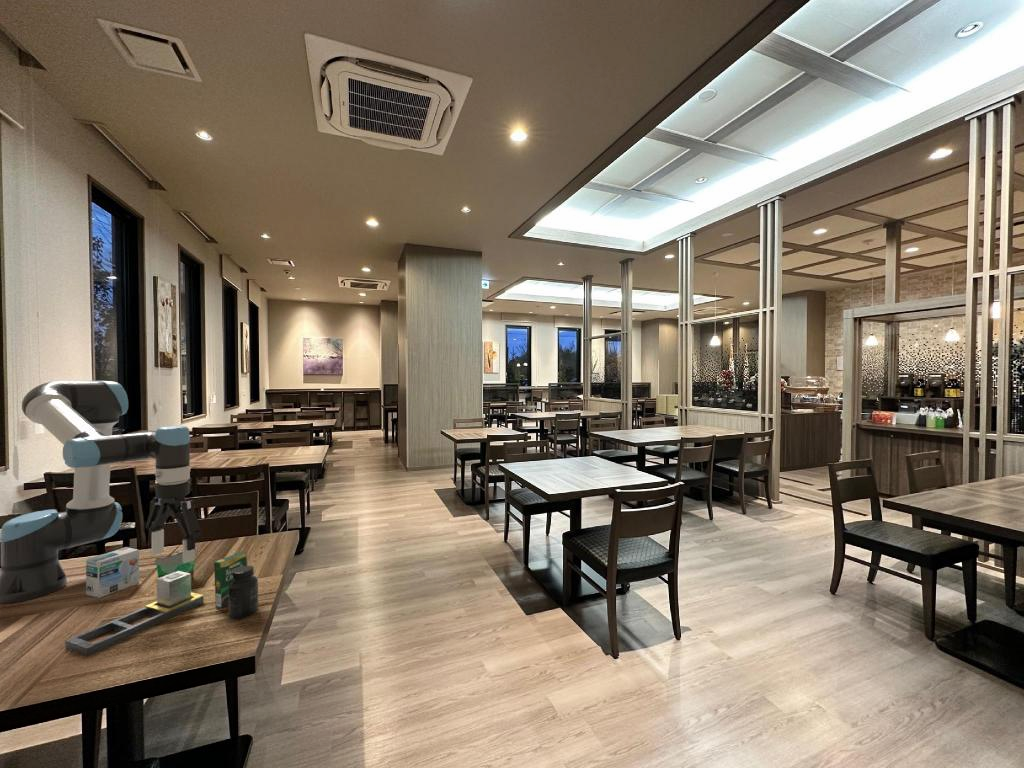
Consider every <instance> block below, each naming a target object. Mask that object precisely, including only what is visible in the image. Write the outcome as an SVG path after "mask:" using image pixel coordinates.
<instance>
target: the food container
mask: <svg viewBox="0 0 1024 768" xmlns="http://www.w3.org/2000/svg"><path fill="white" fill-rule="evenodd" d="M198 552H199V551H198V548H197V546H196V545H195V556H196V555H198ZM195 561H196V559H195V560H192V561H189V562H187V563H183V549H182V550H178V551H174V552H172V553H171V554H170V553H169V554H168V555H167V556H165V557H163V556H162V557H155V559H154V566H156V572H157V579H158V578H161V577H163V576H166V575H169V574H171V573H174V572H177V571H181V572H186V573H190V574H191V582H192V581H193V579H194V573H195V571H194V570H195Z"/></svg>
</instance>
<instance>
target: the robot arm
mask: <svg viewBox="0 0 1024 768" xmlns="http://www.w3.org/2000/svg"><path fill="white" fill-rule="evenodd" d="M21 409H22V410H21V411H22V413H23V414H24V416H26V417H27V418H28V419H29V421H31V422H33V423H35V424H38V425H42V426H43V427H44V428H45V429H46V431H48V432H49V433H50V434H51V435H52V436H53V437H54V438H56V440H57V441H58V442H60V443H61V444H62V445H63V446H62V459H63V461H64V464H65V465H66V466H67V467H69V468H71V469H73V470H74V472H73V493H72V499H71V500H69V501H68V502H67V503H66V505H65V511H62V512H58V510H57V509H45V510H38V511H34V512H33V511H32V512H29V513H25V514H22V515H20V516H16V517H14V518H11V519H9V520H7V521H6V522H4V523H3V525H2V526H1V528H0V529H1V530H0V567H1V568H0V570H1V572H0V604H1V603H2V605H4V604H12V603H18V602H23V601H24V602H25V601H28V600H33V599H35V598H39V597H42V596H45V595H48V594H50V593H54V592H55V591H58V590H60V589H62V588H63V587H64V586H66V585H67V574H66V572H65V571H64V569H63V566H62V564H61V562H60V561H59V551H62V550H65V549H66V550H67V549H69V548H73V547H74V548H75V547H78V546H82V545H86V544H90V543H94V542H99V541H100V542H101V540H105V539H108V538H110V537H111V538H112V536H115V535H116V533H117V532H118V531H119V530H120V528H121V525H122V523H123V522H122V521H123V511H122V506H121V505H120V503H119V502H115V498H114V497H113V496H111V495H110V482H111V481H110V479H111V465H112V464H118V463H124V462H131V461H133V462H134V461H140V460H148V459H155V473H154V476H155V482H156V484H155V497H153V498H152V505H151V509H150V511H149V513H148V517H147V521H146V523H145V529H149V532H151V556H156V555H159V554H162V553H164V552H165V549H164V548H165V530H164V528H165V527H164V525H165V523H166V522H167V520H168V518H169V517H172V519H174V520H175V521H176V523H177V524H178V526H179V528H180V531H181V532H182V535H183V536H184V537H183V538H181V539H182V550H183V563H187V562H189V561H192V560H195V561H196V555H195V546H196V538H197V537H198V536H200V535H202V530H201V527H200V524H199V520H198V516H197V514H196V511H195V510H196V509H195V505H194V500H192V499H191V500H188V501H187V500H186V496H187V495H189V494H190V492H191V491H190V490H191V489H190V481H189V479H190V478H191V474H190V473H191V470H190V469H191V465H190V459H191V458H190V457H191V456H190V455H191V454H190V453H191V451H190V450H191V437H190V428H188V426H184V425H172V426H169V425H167V426H161V427H158V428H156V430H145V431H141V432H136V433H126V434H114V435H113V427H114V426H115V425H116V424H117V423H119V420H120V416H123V415H125V414H127V412H128V410H129V399H128V394H127V392H126V390H125V389H124V387H123V386H122V384H121V383H119V382H116V381H111V380H55V381H54V380H53V381H48V382H45V383H43V384H42V383H41V384H40V385H38V386H37V385H36V386H35V387H34V388H32V389H31V390H29V391H28V392H27V393H26V395H24V397H23V400H22V401H21Z"/></svg>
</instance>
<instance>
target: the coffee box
mask: <svg viewBox="0 0 1024 768" xmlns="http://www.w3.org/2000/svg"><path fill="white" fill-rule="evenodd" d="M247 559H248V557H247V552H244V551H238V552H236V553H234V554H232V555H229V556H227V557H224V558H221V559H219V560H216V561H214V563H213V565H214V589H215V590H214V594H215V598H214V599H215V601H214V602H215V608H217V609H221V610H222V609H224V608H226V607H229V592H228V588H229V584H230V582H231V581H232V580H233V570H235V569H236V568H239V567H243V566H248V562H247V561H248V560H247Z"/></svg>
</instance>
